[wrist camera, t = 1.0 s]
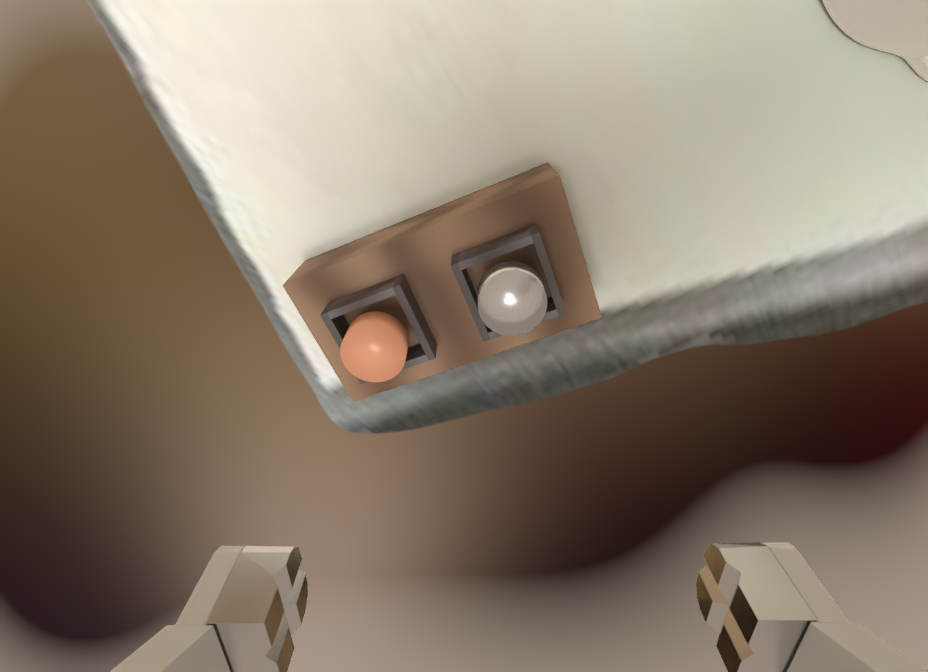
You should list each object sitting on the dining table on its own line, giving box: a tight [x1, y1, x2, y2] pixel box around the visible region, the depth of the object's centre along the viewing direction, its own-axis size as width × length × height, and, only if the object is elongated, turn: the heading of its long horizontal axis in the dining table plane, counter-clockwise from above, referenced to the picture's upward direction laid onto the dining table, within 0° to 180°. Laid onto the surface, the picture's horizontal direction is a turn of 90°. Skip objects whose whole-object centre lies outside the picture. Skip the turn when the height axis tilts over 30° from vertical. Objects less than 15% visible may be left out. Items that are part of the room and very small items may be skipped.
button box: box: [283, 163, 602, 402], centre depth 35 cm, size 19×10×7 cm, turn 112°
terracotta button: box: [340, 311, 409, 382], centre depth 31 cm, size 4×4×2 cm
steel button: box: [477, 261, 547, 336], centre depth 30 cm, size 4×4×2 cm
